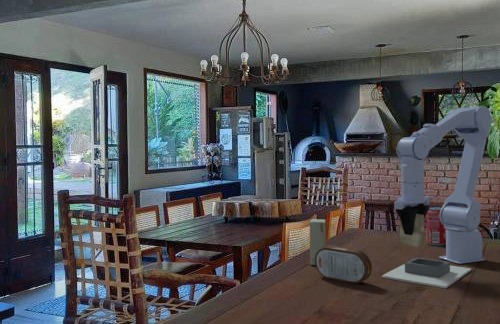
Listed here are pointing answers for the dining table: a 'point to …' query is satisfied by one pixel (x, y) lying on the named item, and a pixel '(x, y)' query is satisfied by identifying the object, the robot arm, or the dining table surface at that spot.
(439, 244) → the soda can
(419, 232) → the birch peg
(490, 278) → the dining table surface
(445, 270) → the peg socket
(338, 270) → the tin
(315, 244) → the skincare box
